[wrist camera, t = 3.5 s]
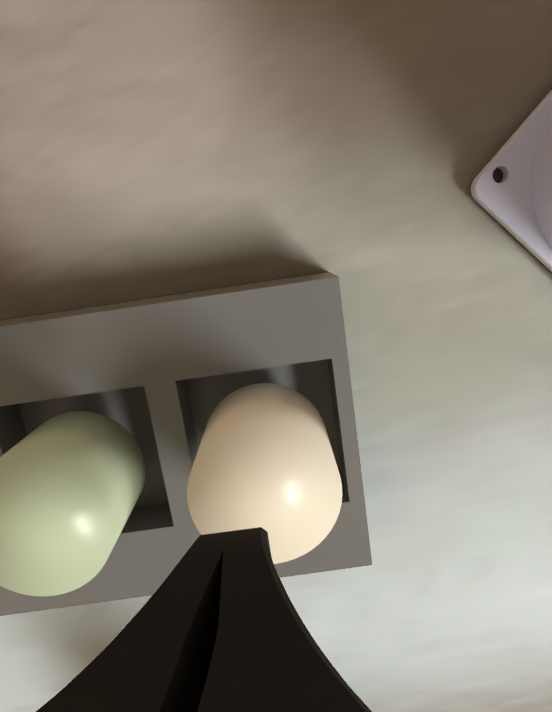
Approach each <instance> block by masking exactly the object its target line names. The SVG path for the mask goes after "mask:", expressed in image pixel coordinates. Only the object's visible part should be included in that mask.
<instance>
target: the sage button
mask: <svg viewBox="0 0 552 712" xmlns="http://www.w3.org/2000/svg"><path fill="white" fill-rule="evenodd" d="M145 476H146V468H145V461H144V457H143V454H142V451H141V449H140V447H139V445H138V443H137V442H136V440H135V439H134V437H133V436H132V435H131V434H130V433H129V432H128V431H127V430H126V429H125V428H124V427H123V426H122V425H120V424H119V423H118V422H116V421H114V420H112V419H111V418H109V417H106V416H104V415H101V414H98V413H94V412H88V411H72V412H66V413H62V414H59V415H56V416H54V417H52V418H50V419H48V420H47V421H45V422H44V423H42V424H41V425H40V426H38V427H37V428H36V429H35V430H33V431H32V432H31V433H30V434H29V435H27V436H26V437H25V438H24V439H22V440H21V441H20V442H19V443H17V444H16V445H15V446H14V447H12V448H11V449H10V450H9V451H7V452H6V453H5V454H4V455H2V456H1V457H0V586H2V587H4V588H6V589H8V590H11V591H13V592H16V593H20V594H24V595H30V596H55V595H60V594H65V593H68V592H71V591H73V590H75V589H78V588H80V587H82V586H83V585H85V584H86V583H88V582H89V581H90V580H91V579H93V578H94V577H95V576H96V575H97V574H98V573H99V571H100V570H101V569H102V567H103V566H104V564H105V563H106V561H107V559H108V557H109V555H110V553H111V551H112V549H113V547H114V545H115V543H116V541H117V539H118V537H119V535H120V533H121V531H122V529H123V527H124V526H125V524H126V522H127V520H128V518H129V516H130V514H131V512H132V510H133V508H134V506H135V504H136V502H137V500H138V498H139V496H140V494H141V491H142V489H143V486H144V482H145Z"/></svg>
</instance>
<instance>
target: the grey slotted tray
mask: <svg viewBox="0 0 552 712" xmlns="http://www.w3.org/2000/svg"><path fill="white" fill-rule="evenodd" d="M258 383H273V384H279V385H283V386H286V387H289V388H291V389H294V390H296V391H297V392H299V393H301V394H302V395H304V396H305V397H306V398H307V399H308V400H310V402H311V403H312V404H313V405H314V406H315V407H316V409H317V410H318V412H319V413H320V415H321V417H322V419H323V422H324V425H325V428H326V431H327V435H328V438H329V441H330V444H331V448H332V451H333V454H334V458H335V461H336V464H337V467H338V471H339V474H340V478H341V483H342V504H341V508H340V513H339V515H338V518H337V520H336V522H335V524H334V526H333V528H332V530H331V531H330V532H329V534H328V535H327V536H326V538H325V539H324V540H323V541H322V542H321V543H320V544H319V545H317V546H316V547H315V548H314V549H312V550H311V551H309V552H308V553H306V554H304V555H302V556H300V557H298V558H296V559H293V560H290V561H287V562H283V563H278V564H274V566H275V569H276V571H277V574H278V576H279V578H280V577H287V576H294V575H301V574H309V573H316V572H323V571H331V570H338V569H345V568H352V567H360V566H367V565H372V560H371V551H370V543H369V534H368V526H367V517H366V508H365V500H364V491H363V483H362V474H361V466H360V457H359V449H358V440H357V432H356V423H355V415H354V406H353V397H352V389H351V380H350V372H349V363H348V355H347V346H346V338H345V329H344V321H343V312H342V304H341V295H340V286H339V278H338V276H336V275H334V274H332V273H330V272H325V273H318V274H312V275H305V276H298V277H291V278H284V279H278V280H271V281H264V282H257V283H251V284H244V285H237V286H230V287H224V288H217V289H210V290H203V291H196V292H190V293H183V294H176V295H169V296H163V297H156V298H149V299H142V300H135V301H129V302H122V303H115V304H108V305H102V306H95V307H88V308H81V309H75V310H68V311H61V312H54V313H47V314H41V315H34V316H27V317H20V318H14V319H7V320H0V457H1V456H2V455H4V454H5V453H6V452H7V451H9V450H10V449H11V448H12V447H14V446H15V445H16V444H17V443H19V442H20V441H21V440H22V439H24V438H25V437H26V436H27V435H29V434H30V433H31V432H32V431H33V430H35V429H36V428H37V427H38V426H40V425H41V424H42V423H44V422H45V421H47V420H48V419H50V418H52V417H54V416H56V415H59V414H62V413H66V412H72V411H88V412H94V413H98V414H101V415H104V416H106V417H109V418H111V419H112V420H114V421H116V422H118V423H119V424H120V425H122V426H123V427H124V428H125V429H126V430H127V431H128V432H129V433H130V434H131V435H132V436H133V437H134V439H135V440H136V442H137V443H138V445H139V447H140V449H141V451H142V454H143V457H144V461H145V468H146V476H145V482H144V486H143V489H142V491H141V494H140V496H139V498H138V500H137V502H136V504H135V506H134V508H133V510H132V512H131V514H130V516H129V518H128V520H127V522H126V524H125V526H124V527H123V529H122V531H121V533H120V535H119V537H118V539H117V541H116V543H115V545H114V547H113V549H112V551H111V553H110V555H109V557H108V559H107V561H106V563H105V564H104V566H103V567H102V569H101V570H100V571H99V573H98V574H97V575H96V576H95V577H94V578H93V579H91V580H90V581H89V582H88V583H86V584H85V585H83V586H82V587H80V588H78V589H75V590H73V591H71V592H68V593H65V594H60V595H55V596H30V595H24V594H20V593H16V592H13V591H11V590H8V589H6V588H4V587H2V586H0V616H3V615H10V614H17V613H25V612H32V611H39V610H47V609H54V608H61V607H68V606H76V605H83V604H90V603H98V602H105V601H112V600H119V599H127V598H134V597H141V596H149V595H153V594H154V593H155V592H156V591H157V589H158V588H159V587H160V586H161V584H162V583H163V582H164V581H165V579H166V578H167V577H168V576H169V574H170V573H171V572H172V570H173V569H174V568H175V566H176V565H177V564H178V563H179V561H180V560H181V559H182V557H183V556H184V555H185V553H186V552H187V551H188V549H189V548H190V547H191V546H192V544H193V543H194V542H195V541H196V540H197V538H198V537H199V536H200V535H201V534H200V532H199V531H198V529H197V528H196V526H195V524H194V522H193V520H192V517H191V515H190V511H189V508H188V501H187V486H188V480H189V476H190V473H191V470H192V467H193V464H194V461H195V458H196V455H197V452H198V449H199V446H200V443H201V440H202V437H203V434H204V431H205V428H206V425H207V422H208V420H209V417H210V415H211V413H212V412H213V410H214V409H215V407H216V406H217V405H218V404H219V403H220V401H222V400H223V399H224V398H225V397H226V396H227V395H229V394H230V393H232V392H234V391H236V390H238V389H240V388H242V387H245V386H248V385H252V384H258Z"/></svg>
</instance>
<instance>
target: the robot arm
mask: <svg viewBox="0 0 552 712" xmlns="http://www.w3.org/2000/svg"><path fill="white" fill-rule="evenodd" d="M496 168H499V169H501V170H502V172H503V179H502V181H501V182H500V183H497V182H495V181H494V179H493V172H494V170H495V169H496ZM471 194H472V196H473V198H474V199H475V200H476V201H477V202H478V203H479V204H480V205H481V206H482V207H483V208H484V209H485V210H486V211H487V212H488V213H490V214H491V215H492V216H493V217H494V218H495V219H496V220H497V221H498V222H499V223H500V224H501V225H502V226H503V227H504V228H505V229H507V230H508V231H509V232H510V233H511V234H512V235H513V236H514V237H515V238H516V239H517V240H518V241H519V242H520V243H521V244H522V245H524V246H525V247H526V248H527V249H528V250H529V251H530V252H531V253H532V254H533V255H534V256H535V257H536V258H537V259H538V260H539V261H541V262H542V263H543V264H544V265H545V266H546V267H547V268H548V269H549V270H550V271H551V272H552V90H551V91H550V92H549V93H548V94H547V95H546V97H545V98H544V99H543V100H542V101H541V102H540V103H539V105H538V106H537V107H536V108H535V109H534V110H533V112H532V113H531V114H530V115H529V116H528V117H527V118H526V120H525V121H524V122H523V123H522V124H521V125H520V127H519V128H518V129H517V130H516V131H515V132H514V133H513V135H512V136H511V137H510V138H509V139H508V140H507V141H506V143H505V144H504V145H503V146H502V147H501V148H500V150H499V151H498V152H497V153H496V154H495V155H494V156H493V158H492V159H491V160H490V161H489V162H488V163H487V165H486V166H485V167H484V168H483V169H482V170H481V171H480V173H479V174H478V175H477V176H476V177H475V179H474V180H473V182H472V184H471ZM36 712H372V711H371V710H370V709H369V708H368V707H367V706H366V705H365V704H364V703H363V701H362V700H361V699H360V698H359V697H358V696H357V695H356V694H355V693H354V691H353V690H352V689H351V688H350V687H349V686H348V685H347V683H346V682H345V681H344V680H343V678H342V677H341V676H340V674H339V673H338V672H337V671H336V669H335V668H334V667H333V666H332V664H331V663H330V662H329V660H328V659H327V658H326V656H325V655H324V653H323V652H322V651H321V649H320V648H319V646H318V645H317V644H316V642H315V641H314V639H313V638H312V636H311V635H310V633H309V631H308V630H307V628H306V627H305V625H304V623H303V622H302V620H301V618H300V617H299V615H298V613H297V611H296V610H295V608H294V606H293V604H292V603H291V601H290V599H289V597H288V595H287V593H286V591H285V589H284V587H283V584H282V582H281V580H280V578H279V576H278V574H277V571H276V569H275V566H274V564H273V561H272V557H271V551H270V544H269V538H268V532H267V531H266V530H264V529H263V528H262V527H258V528H250V529H243V530H235V531H227V532H220V533H212V534H204V535H200V536H199V537H198V538H197V540H196V541H195V542H194V543H193V544H192V546H191V547H190V548H189V549H188V551H187V552H186V553H185V555H184V556H183V557H182V559H181V560H180V561H179V563H178V564H177V565H176V566H175V568H174V569H173V570H172V572H171V573H170V574H169V576H168V577H167V578H166V579H165V581H164V582H163V583H162V584H161V586H160V587H159V588H158V589H157V591H156V592H155V593H154V594H153V595H152V597H151V598H150V599H149V600H148V602H147V603H146V604H145V605H144V606H143V608H142V609H141V610H140V611H139V612H138V613H137V614H136V615H135V617H134V618H133V619H132V620H131V621H130V622H129V623H128V624H127V625H126V627H125V628H124V629H123V630H122V631H121V632H120V633H119V634H118V636H117V637H116V638H115V639H114V640H113V641H112V642H111V643H110V644H109V645H108V646H107V647H106V648H105V649H104V650H103V651H102V652H101V653H100V654H99V655H98V656H97V657H96V658H95V659H94V660H93V661H92V662H91V663H90V664H89V665H88V666H87V667H86V668H85V669H84V670H83V671H82V672H81V673H80V674H78V675H77V676H76V677H75V678H74V679H73V680H72V681H71V682H70V683H69V684H68V685H67V686H66V687H65V688H63V689H62V690H61V691H60V692H59V693H58V694H57V695H56V696H54V697H53V698H52V699H51V700H50V701H48V702H47V703H46V704H45V705H44V706H42V707H41V708H40V709H39V710H37V711H36Z"/></svg>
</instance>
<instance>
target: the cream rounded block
mask: <svg viewBox="0 0 552 712" xmlns="http://www.w3.org/2000/svg"><path fill="white" fill-rule="evenodd" d="M187 501H188V508H189V511H190V515H191V517H192V520H193V522H194V524H195V526H196V528H197V529H198V531H199V532H200V534H201V535H204V534H212V533H220V532H227V531H235V530H243V529H250V528H258V527H262V528H263V529H264V530H266V531H267V532H268V538H269V544H270V551H271V557H272V561H273V564H278V563H283V562H287V561H290V560H293V559H296V558H298V557H300V556H302V555H304V554H306V553H308V552H309V551H311V550H312V549H314V548H315V547H316V546H317V545H319V544H320V543H321V542H322V541H323V540H324V539H325V538H326V536H327V535H328V534H329V532H330V531H331V530H332V528H333V526H334V524H335V522H336V520H337V518H338V515H339V513H340V508H341V504H342V483H341V478H340V474H339V471H338V467H337V464H336V461H335V458H334V454H333V451H332V448H331V444H330V441H329V438H328V435H327V431H326V428H325V425H324V422H323V419H322V417H321V415H320V413H319V412H318V410H317V409H316V407H315V406H314V405H313V404H312V403H311V402H310V400H308V399H307V398H306V397H305V396H304V395H302V394H301V393H299V392H297V391H296V390H294V389H291V388H289V387H286V386H283V385H279V384H273V383H258V384H252V385H248V386H245V387H242V388H240V389H238V390H236V391H234V392H232V393H230V394H229V395H227V396H226V397H225V398H224V399H223V400H222V401H220V403H219V404H218V405H217V406H216V407H215V409H214V410H213V412H212V413H211V415H210V417H209V420H208V422H207V425H206V428H205V431H204V434H203V437H202V440H201V443H200V446H199V449H198V452H197V455H196V458H195V461H194V464H193V467H192V470H191V473H190V476H189V480H188V486H187Z"/></svg>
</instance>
